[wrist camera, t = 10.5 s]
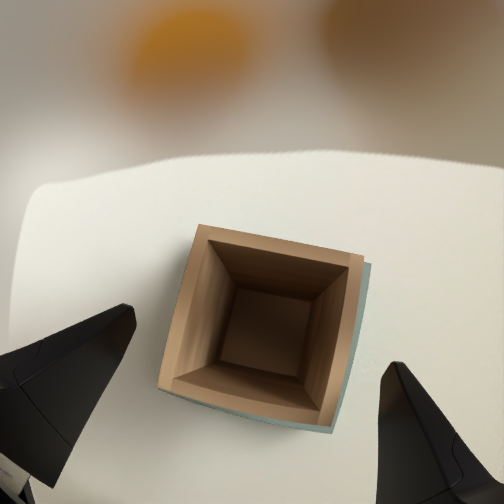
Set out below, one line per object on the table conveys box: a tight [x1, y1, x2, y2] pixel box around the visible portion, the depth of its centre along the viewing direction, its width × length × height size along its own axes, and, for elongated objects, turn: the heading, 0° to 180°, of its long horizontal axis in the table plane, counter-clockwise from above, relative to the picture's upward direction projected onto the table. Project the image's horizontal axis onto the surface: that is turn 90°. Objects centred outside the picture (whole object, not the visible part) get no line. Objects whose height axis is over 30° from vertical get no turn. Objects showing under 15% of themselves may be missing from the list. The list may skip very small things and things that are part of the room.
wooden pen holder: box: [157, 224, 364, 427], centre depth 14 cm, size 6×6×10 cm
